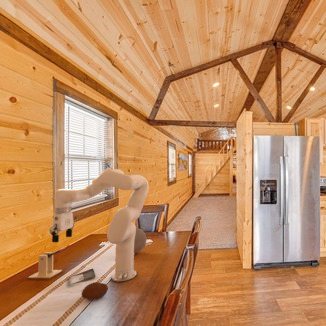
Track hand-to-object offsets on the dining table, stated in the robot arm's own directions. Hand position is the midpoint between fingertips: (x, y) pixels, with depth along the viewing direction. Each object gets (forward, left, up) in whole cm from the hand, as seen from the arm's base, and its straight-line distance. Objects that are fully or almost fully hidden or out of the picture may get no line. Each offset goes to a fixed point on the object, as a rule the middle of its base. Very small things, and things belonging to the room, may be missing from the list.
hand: (62, 239), depth 134 cm
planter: (+24, -35, -21) cm, 47 cm away
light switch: (-9, -13, -21) cm, 26 cm away
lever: (+1, +4, -9) cm, 10 cm away
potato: (-33, -25, -21) cm, 47 cm away
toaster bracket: (+3, +8, -21) cm, 23 cm away
